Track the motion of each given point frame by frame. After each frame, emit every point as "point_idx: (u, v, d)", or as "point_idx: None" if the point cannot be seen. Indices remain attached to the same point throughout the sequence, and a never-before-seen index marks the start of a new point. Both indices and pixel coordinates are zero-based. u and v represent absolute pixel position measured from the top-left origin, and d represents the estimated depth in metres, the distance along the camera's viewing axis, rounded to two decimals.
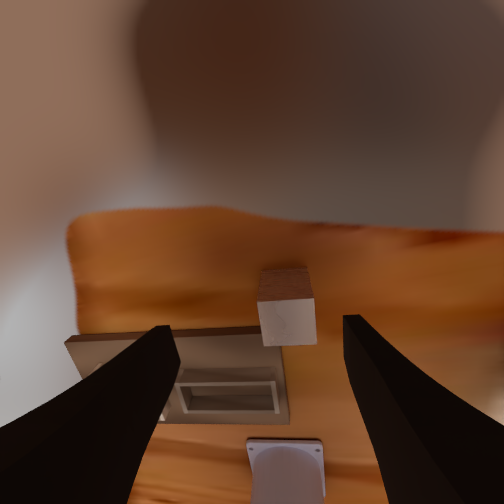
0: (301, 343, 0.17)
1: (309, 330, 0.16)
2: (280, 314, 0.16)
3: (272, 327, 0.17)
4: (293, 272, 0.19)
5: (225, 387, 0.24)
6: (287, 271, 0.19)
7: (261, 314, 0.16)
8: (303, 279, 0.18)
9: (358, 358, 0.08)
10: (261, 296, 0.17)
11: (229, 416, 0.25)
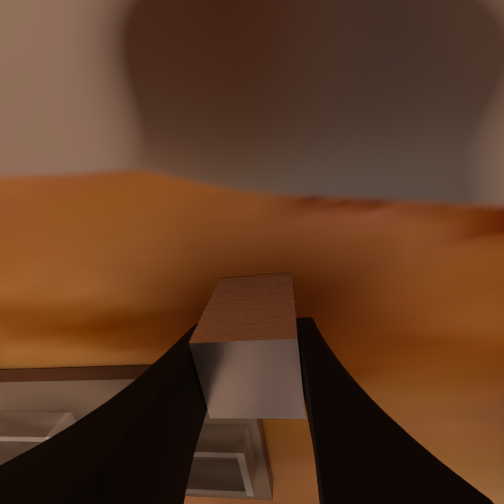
0: (277, 416, 0.09)
1: (290, 395, 0.09)
2: (234, 366, 0.08)
3: (222, 388, 0.09)
4: (268, 282, 0.11)
5: None
6: (259, 281, 0.12)
7: (199, 365, 0.09)
8: (282, 295, 0.10)
9: (301, 360, 0.08)
10: (201, 330, 0.09)
11: None
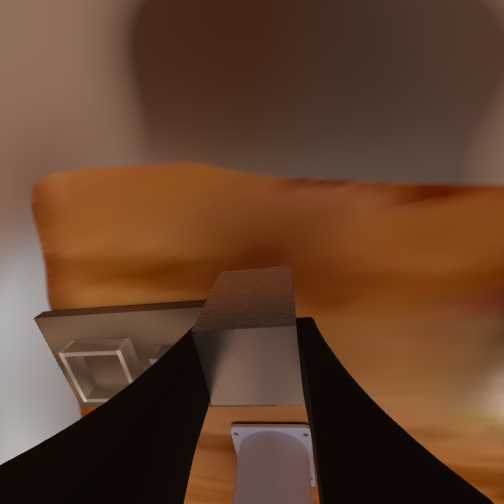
0: (277, 402, 0.09)
1: (290, 381, 0.09)
2: (235, 353, 0.09)
3: (224, 375, 0.09)
4: (268, 274, 0.12)
5: None
6: (259, 273, 0.12)
7: (202, 353, 0.09)
8: (282, 287, 0.10)
9: (301, 360, 0.08)
10: (203, 320, 0.09)
11: None
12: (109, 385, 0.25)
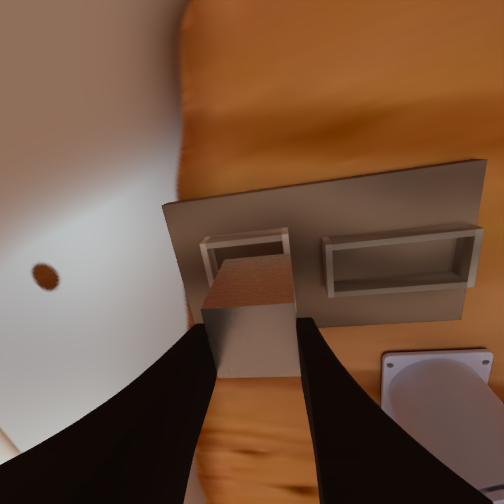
0: (277, 375, 0.10)
1: (289, 355, 0.10)
2: (239, 329, 0.10)
3: (229, 349, 0.10)
4: (269, 261, 0.13)
5: (381, 264, 0.18)
6: (260, 260, 0.13)
7: (209, 329, 0.10)
8: (282, 271, 0.11)
9: (301, 360, 0.08)
10: (210, 300, 0.10)
11: (375, 312, 0.19)
12: None
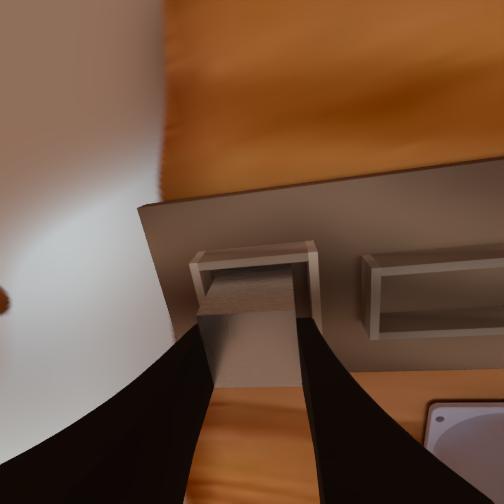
0: (277, 385, 0.10)
1: (289, 364, 0.10)
2: (237, 336, 0.09)
3: (226, 358, 0.10)
4: (268, 265, 0.12)
5: (443, 293, 0.13)
6: None
7: (205, 336, 0.09)
8: (281, 276, 0.11)
9: (301, 360, 0.08)
10: (207, 305, 0.10)
11: (429, 354, 0.14)
12: None
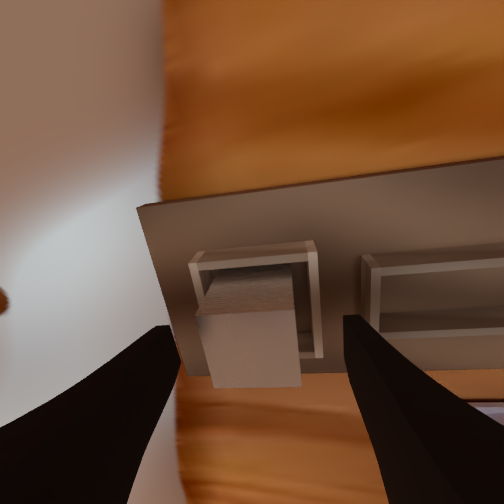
0: (276, 385, 0.10)
1: (288, 364, 0.09)
2: (236, 337, 0.09)
3: (225, 358, 0.10)
4: (267, 265, 0.12)
5: (443, 292, 0.13)
6: None
7: (204, 337, 0.09)
8: (281, 276, 0.11)
9: (358, 358, 0.08)
10: (206, 305, 0.10)
11: (428, 354, 0.14)
12: None
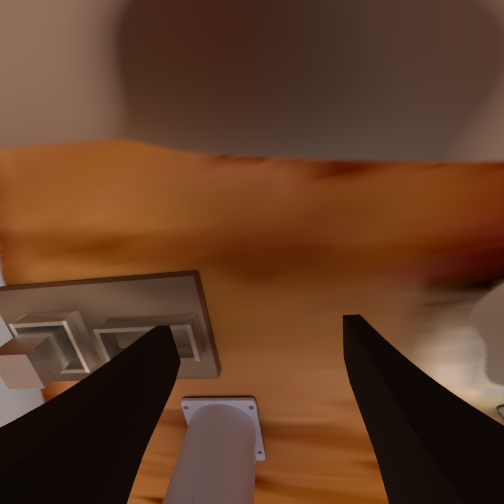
0: (34, 387, 0.21)
1: (34, 377, 0.20)
2: (8, 365, 0.20)
3: (7, 374, 0.21)
4: None
5: None
6: None
7: None
8: (48, 333, 0.22)
9: (358, 358, 0.08)
10: None
11: None
12: None
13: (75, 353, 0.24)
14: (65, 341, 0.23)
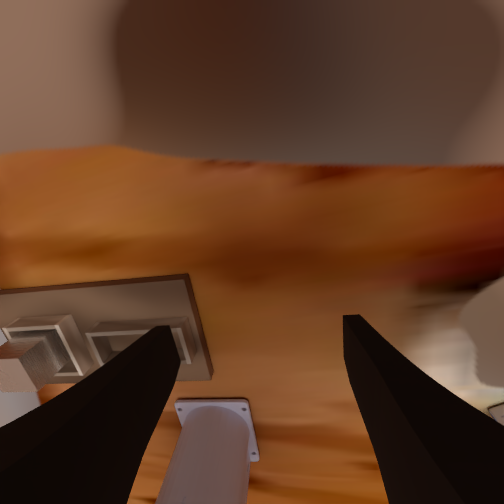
0: (27, 391, 0.21)
1: (27, 381, 0.21)
2: (1, 369, 0.20)
3: (1, 378, 0.21)
4: None
5: None
6: None
7: None
8: (41, 336, 0.22)
9: (358, 358, 0.08)
10: None
11: None
12: None
13: (68, 356, 0.24)
14: (58, 344, 0.23)
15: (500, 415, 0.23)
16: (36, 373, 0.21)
